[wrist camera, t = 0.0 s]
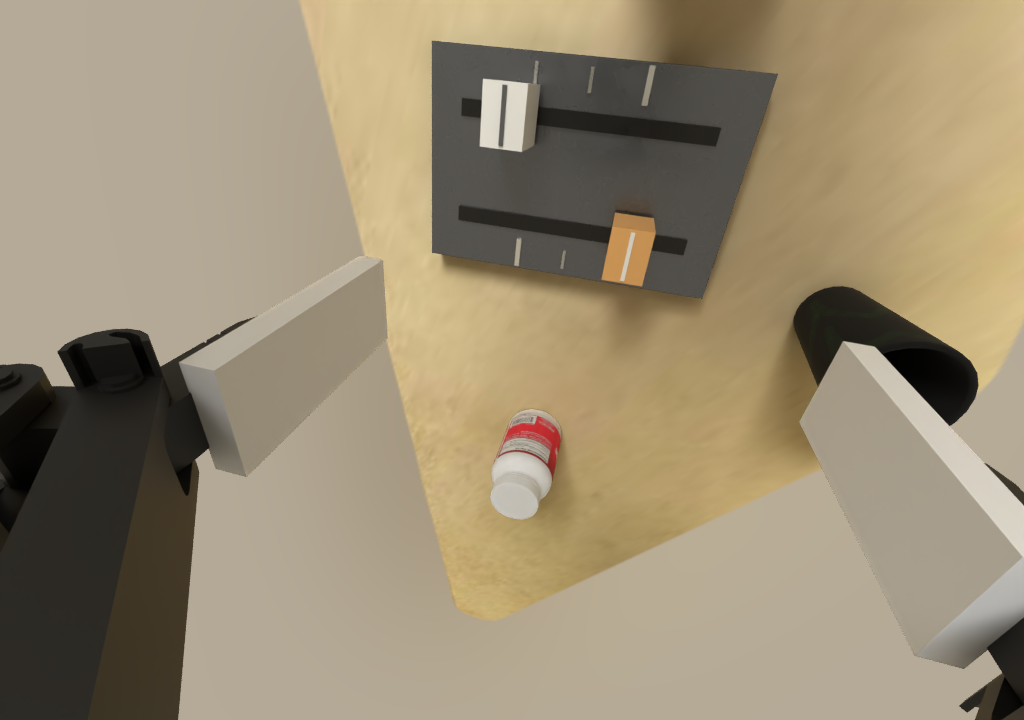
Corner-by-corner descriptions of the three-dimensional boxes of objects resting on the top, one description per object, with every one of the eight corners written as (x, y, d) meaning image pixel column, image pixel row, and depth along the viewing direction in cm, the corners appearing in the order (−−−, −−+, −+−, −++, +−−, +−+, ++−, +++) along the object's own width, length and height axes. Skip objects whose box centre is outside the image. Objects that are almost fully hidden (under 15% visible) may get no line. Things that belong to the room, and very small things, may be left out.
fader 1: (500, 80, 33) (482, 78, 29) (540, 84, 32) (527, 83, 29) (496, 140, 35) (479, 146, 31) (534, 145, 35) (521, 152, 31)
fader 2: (615, 212, 36) (612, 226, 32) (653, 218, 35) (655, 233, 31) (604, 261, 38) (601, 280, 34) (641, 267, 37) (641, 287, 34)
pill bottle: (543, 458, 54) (524, 534, 44) (500, 431, 53) (471, 502, 44) (573, 426, 50) (559, 502, 41) (527, 397, 50) (502, 466, 41)
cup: (781, 281, 38) (833, 349, 28) (892, 266, 35) (993, 336, 25) (778, 360, 41) (824, 447, 31) (879, 352, 39) (964, 443, 29)
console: (441, 43, 35) (430, 40, 33) (770, 75, 31) (778, 73, 29) (440, 246, 43) (431, 253, 41) (699, 290, 40) (702, 299, 38)
